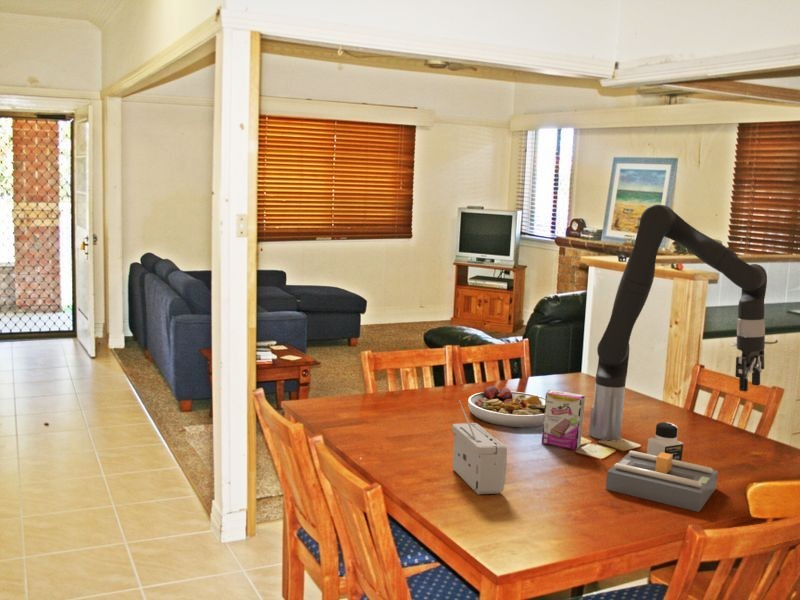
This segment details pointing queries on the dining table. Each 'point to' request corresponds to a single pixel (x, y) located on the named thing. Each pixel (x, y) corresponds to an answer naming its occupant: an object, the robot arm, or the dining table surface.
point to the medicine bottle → (665, 441)
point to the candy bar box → (563, 419)
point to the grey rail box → (662, 481)
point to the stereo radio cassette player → (479, 458)
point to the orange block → (664, 462)
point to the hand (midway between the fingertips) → (749, 388)
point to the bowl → (508, 407)
